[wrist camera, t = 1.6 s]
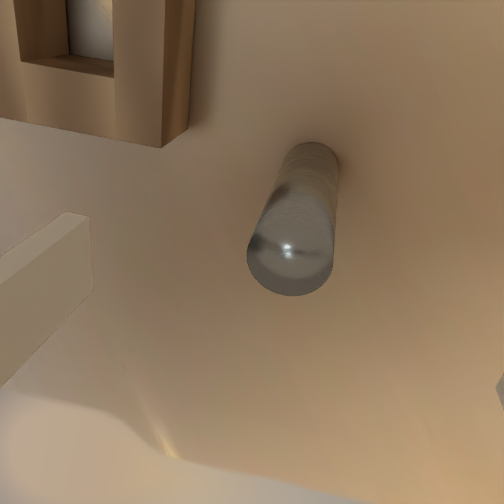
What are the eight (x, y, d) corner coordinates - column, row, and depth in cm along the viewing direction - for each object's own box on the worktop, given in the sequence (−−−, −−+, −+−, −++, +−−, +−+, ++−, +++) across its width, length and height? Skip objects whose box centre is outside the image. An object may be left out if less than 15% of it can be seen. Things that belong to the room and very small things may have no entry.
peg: (279, 190, 25) (241, 286, 16) (288, 138, 23) (252, 212, 15) (331, 200, 24) (322, 303, 16) (344, 148, 23) (342, 230, 14)
